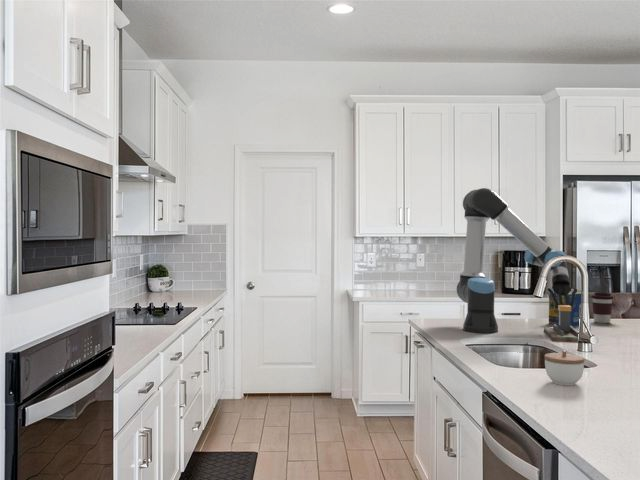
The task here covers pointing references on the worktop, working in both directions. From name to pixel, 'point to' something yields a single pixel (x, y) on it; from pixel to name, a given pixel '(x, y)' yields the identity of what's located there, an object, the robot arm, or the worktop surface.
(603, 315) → the coffee cup
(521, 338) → the worktop surface
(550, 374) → the lidded jar
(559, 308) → the switch handle
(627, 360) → the worktop surface
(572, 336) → the switch panel
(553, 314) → the protein box
